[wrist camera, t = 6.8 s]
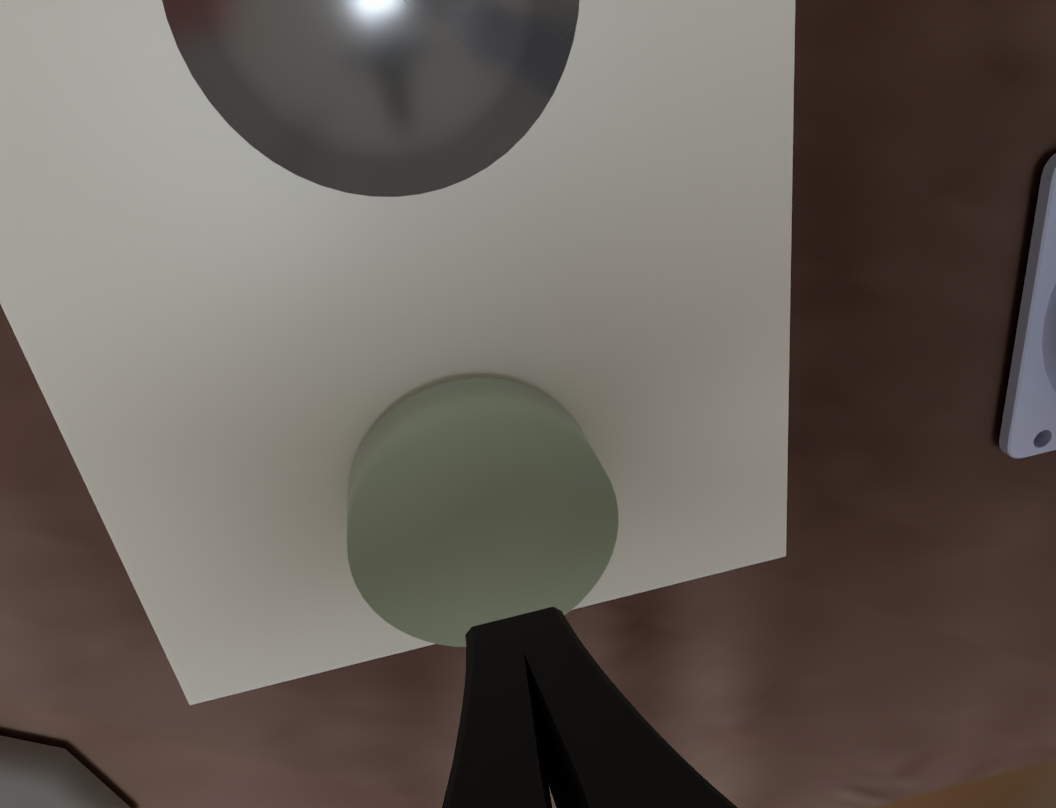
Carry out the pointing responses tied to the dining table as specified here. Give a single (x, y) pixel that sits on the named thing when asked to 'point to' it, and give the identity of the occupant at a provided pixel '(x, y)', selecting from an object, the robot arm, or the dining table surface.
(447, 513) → the sage button
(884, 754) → the dining table surface
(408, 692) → the dining table surface
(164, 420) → the control panel
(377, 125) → the grey button
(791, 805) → the dining table surface
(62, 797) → the flask
